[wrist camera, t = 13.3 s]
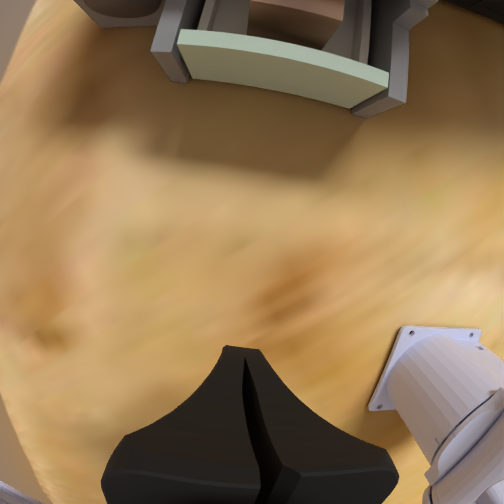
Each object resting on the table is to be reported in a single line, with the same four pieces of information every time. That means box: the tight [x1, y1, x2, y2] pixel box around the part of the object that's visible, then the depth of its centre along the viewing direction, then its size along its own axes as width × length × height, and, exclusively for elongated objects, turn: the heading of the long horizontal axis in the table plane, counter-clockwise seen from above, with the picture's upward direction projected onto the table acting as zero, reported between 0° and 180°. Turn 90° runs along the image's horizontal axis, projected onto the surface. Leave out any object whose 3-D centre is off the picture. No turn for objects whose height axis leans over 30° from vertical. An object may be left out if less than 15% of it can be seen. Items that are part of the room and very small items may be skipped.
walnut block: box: [247, 0, 345, 51], centre depth 12 cm, size 4×4×5 cm
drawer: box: [177, 0, 389, 109], centre depth 13 cm, size 9×9×5 cm
